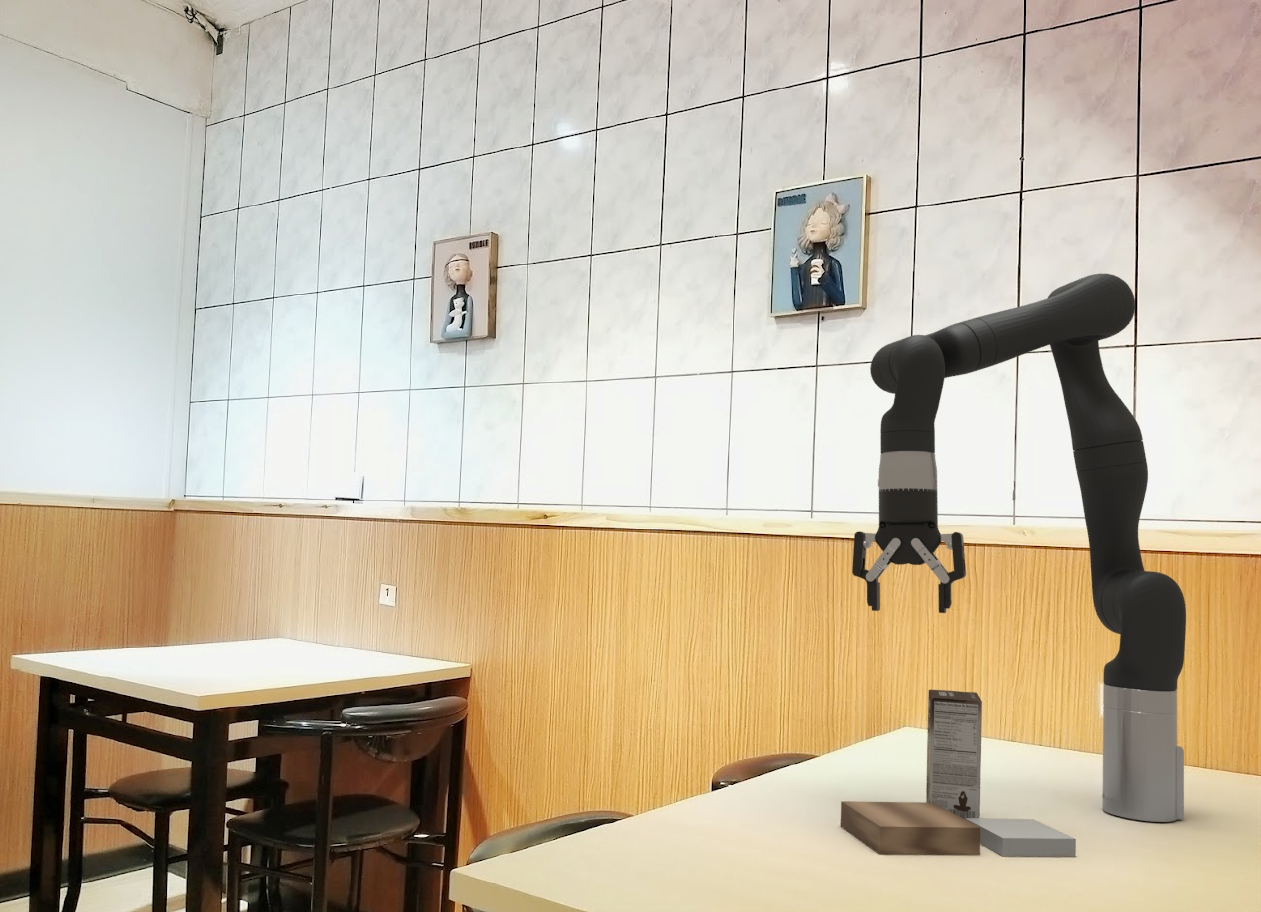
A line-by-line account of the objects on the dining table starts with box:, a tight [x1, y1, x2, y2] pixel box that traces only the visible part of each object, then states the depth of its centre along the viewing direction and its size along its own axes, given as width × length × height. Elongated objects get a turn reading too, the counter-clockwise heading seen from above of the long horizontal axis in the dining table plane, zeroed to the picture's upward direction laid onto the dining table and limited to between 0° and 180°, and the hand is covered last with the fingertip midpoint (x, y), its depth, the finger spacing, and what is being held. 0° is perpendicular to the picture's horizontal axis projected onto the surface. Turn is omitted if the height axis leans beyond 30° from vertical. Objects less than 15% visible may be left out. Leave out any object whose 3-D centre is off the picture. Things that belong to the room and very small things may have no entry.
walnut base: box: [840, 800, 981, 856], centre depth 124 cm, size 12×12×3 cm
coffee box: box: [925, 689, 983, 819], centre depth 136 cm, size 9×6×16 cm
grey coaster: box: [965, 817, 1077, 858], centre depth 124 cm, size 9×9×2 cm
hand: (908, 611), depth 137 cm, fingers open, 8 cm apart
